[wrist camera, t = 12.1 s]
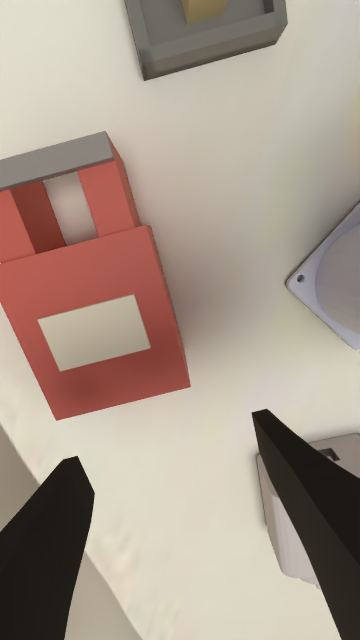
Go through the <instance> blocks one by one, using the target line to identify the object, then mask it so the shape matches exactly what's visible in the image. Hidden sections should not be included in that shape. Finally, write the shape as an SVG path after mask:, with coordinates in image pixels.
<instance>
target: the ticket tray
mask: <svg viewBox="0 0 360 640" xmlns="http://www.w3.org/2000/svg"><path fill="white" fill-rule="evenodd" d="M125 4H126V8H127V12H128V16H129V20H130V25H131V29H132V33H133V37H134V41H135V45H136V49H137V54H138V58H139V62H140V66H141V70H142V74H143V79H144V81H145V80H149V79H152V78H156V77H160V76H163V75H167V74H170V73H174V72H177V71H181V70H185V69H188V68H192V67H195V66H199V65H202V64H206V63H210V62H213V61H217V60H220V59H224V58H228V57H231V56H235V55H238V54H242V53H245V52H249V51H253V50H256V49H260V48H263V47H267V46H270V45H274V44H276V42H277V41H278V39H279V37H280V36H281V34H282V32H283V31H284V29H285V27H286V26H287V24H288V21H287V12H286V2H285V0H228V1H227V5H226V8H225V12H224V14H221V15H218V16H215V17H211V18H208V19H205V20H201V21H198V22H195V23H191V24H188V25H187V24H186V19H185V14H184V9H183V4H182V0H125Z"/></svg>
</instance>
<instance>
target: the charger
mask: <svg viewBox="0 0 360 640" xmlns="http://www.w3.org/2000/svg"><path fill="white" fill-rule="evenodd" d="M308 444H309V445H311V446H312V447H313V448H315V449H316V450H320V451H319V452H320V453H322V454H323V455H324V456H326V457H327V458H329V459H330V460H332V461H333V462H335V463H336V464H338V465H339V466H341V467H342V468H344V469H345V470H347V471H349V472H350V473H352V474H354V475H355V476H357V477H358V478H360V435H358V434H349V435H344V436H339V437H334V438H329V439H325V440H320V441H315V442H310V443H308ZM327 448H330V449H327ZM322 449H325V450H322ZM257 464H258V470H259V477H260V484H261V490H262V497H263V504H264V511H265V517H266V524H267V531H268V534H269V537H270V540H271V543H272V546H273V549H274V552H275V555H276V558H277V561H278V563H279V566H280V569H281V571H282V572H283V573H284V574H285V575H287V576H289V577H292V578H300V579H301V580H302V581H305V582H308V583H311V584H315V585H316V587H317V588H318V589H321V587H320V585H319V582H318V580H317V577H316V575H315V573H314V570H313V568H312V565H311V563H310V560H309V558H308V556H307V553H306V551H305V549H304V547H303V545H302V542H301V540H300V538H299V536H298V534H297V532H296V530H295V528H294V526H293V524H292V522H291V520H290V518H289V516H288V514H287V512H286V510H285V508H284V506H283V505H282V503H281V501H280V499H279V497H278V495H277V493H276V491H275V489H274V487H273V485H272V483H271V480H270V478H269V476H268V473H267V471H266V468H265V466H264V463H263V460H262V458H261V455H260V454H259V455H258V457H257Z"/></svg>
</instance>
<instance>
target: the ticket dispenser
mask: <svg viewBox="0 0 360 640" xmlns="http://www.w3.org/2000/svg"><path fill="white" fill-rule="evenodd" d="M75 171H77V173H78V176H79V179H80V182H81V185H82V188H83V191H84V194H85V197H86V200H87V203H88V206H89V209H90V212H91V215H92V218H93V221H94V224H95V227H96V230H97V233H98V236H99V238H95V239H92V240H88V241H84V242H80V243H77V244H73V245H69V246H66V245H65V242H64V239H63V236H62V234H61V231H60V228H59V226H58V223H57V220H56V218H55V215H54V212H53V209H52V207H51V204H50V201H49V199H48V196H47V193H46V190H45V188H44V185H43V183H42V182H40V181H42V180H46V179H49V178H53V177H57V176H60V175H64V174H68V173H71V172H75ZM0 263H1V264H0V302H1V305H2V307H3V309H4V311H5V313H6V315H7V317H8V319H9V322H10V324H11V326H12V328H13V330H14V332H15V334H16V336H17V339H18V341H19V343H20V345H21V347H22V349H23V351H24V353H25V355H26V358H27V360H28V362H29V364H30V366H31V368H32V370H33V372H34V375H35V377H36V379H37V381H38V383H39V385H40V387H41V389H42V392H43V394H44V396H45V398H46V400H47V402H48V404H49V406H50V409H51V411H52V413H53V415H54V417H55V419H56V421H57V420H61V419H65V418H69V417H73V416H77V415H81V414H85V413H89V412H93V411H97V410H101V409H105V408H109V407H113V406H117V405H121V404H125V403H129V402H133V401H137V400H140V399H144V398H148V397H152V396H156V395H160V394H164V393H168V392H172V391H176V390H180V389H184V388H188V387H191V385H190V379H189V374H188V368H187V362H186V356H185V351H184V347H183V343H182V340H181V336H180V332H179V329H178V325H177V321H176V318H175V314H174V310H173V306H172V303H171V299H170V295H169V292H168V288H167V284H166V281H165V277H164V273H163V270H162V266H161V262H160V258H159V255H158V251H157V247H156V244H155V240H154V236H153V233H152V229H151V226H148V225H144V226H141V224H140V221H139V217H138V214H137V210H136V206H135V203H134V199H133V196H132V192H131V189H130V185H129V182H128V178H127V174H126V171H125V167H124V164H123V160H122V159H121V157H120V155H119V154H118V152H117V150H116V148H115V147H114V145H113V143H112V142H111V140H110V138H109V136H108V135H107V133H106V131H103V132H100V133H96V134H93V135H89V136H85V137H82V138H78V139H74V140H71V141H67V142H64V143H60V144H56V145H53V146H49V147H45V148H42V149H38V150H35V151H31V152H27V153H24V154H20V155H16V156H13V157H9V158H6V159H2V160H0Z"/></svg>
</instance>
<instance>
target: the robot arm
mask: <svg viewBox="0 0 360 640" xmlns="http://www.w3.org/2000/svg"><path fill="white" fill-rule="evenodd" d="M299 275H302V279H301V280H300V281H297V278H298V276H299ZM286 286H287V288H288V289H289V290H290V291H291V292H292V293H293V294H294V295H295V296H296V297H297V298H298V299H300V300H301V301H302V302H303V303H304V304H305V305H306V306H307V307H308V308H309V309H310V310H311V311H313V312H314V313H315V314H316V315H317V316H318V317H319V318H320V319H321V320H322V321H323V322H324V323H326V324H327V325H328V326H329V327H330V328H331V329H332V330H333V331H334V332H335V333H336V334H337V335H339V336H340V337H341V338H342V339H343V340H344V341H345V342H346V343H347V344H348V345H349V346H351V347H352V348H354V349H355V350H359V349H360V202H359V203H358V205H357V206H356V207H355V208H354V209H353V210H352V211H351V212H350V213H349V214H348V215H347V216H346V217H345V219H344V220H343V221H342V222H341V223H340V224H339V225H338V226H337V227H336V228H335V229H334V230H333V231H332V233H331V234H330V235H329V236H328V237H327V238H326V239H325V240H324V241H323V242H322V243H321V244H320V245H319V247H318V248H317V249H316V250H315V251H314V252H313V253H312V254H311V255H310V256H309V257H308V258H307V259H306V261H305V262H304V263H303V264H302V265H301V266H300V267H299V268H298V269H297V270H296V271H295V272H294V274H293V275H292V276H291V277H290V278H289V279H288V280H287V283H286ZM252 418H253V423H254V427H255V432H256V437H257V442H258V447H259V452H260V455H261V458H262V460H263V463H264V466H265V468H266V471H267V473H268V476H269V478H270V480H271V483H272V485H273V487H274V489H275V491H276V493H277V495H278V497H279V499H280V501H281V503H282V505H283V506H284V508H285V510H286V512H287V514H288V516H289V518H290V520H291V522H292V524H293V526H294V528H295V530H296V532H297V534H298V536H299V538H300V540H301V542H302V545H303V547H304V549H305V551H306V553H307V556H308V558H309V560H310V563H311V565H312V568H313V570H314V573H315V575H316V577H317V580H318V582H319V585H320V587H321V590H322V592H323V595H324V597H325V599H326V602H327V604H328V607H329V609H330V612H331V614H332V617H333V619H334V622H335V624H336V627H337V629H338V632H339V634H340V637H341V639H342V640H360V478H358V477H357V476H355V475H354V474H352V473H350V472H349V471H347V470H345V469H344V468H342V467H341V466H339V465H338V464H336V463H335V462H333V461H332V460H330V459H329V458H327V457H326V456H324V455H323V454H322V453H320V452H319V451H317V450H316V449H315V448H313V447H312V446H311V445H309V444H308V443H307V442H305V441H304V440H303V439H302V438H300V437H299V436H298V435H296V434H295V433H294V432H293V431H292V430H290V429H289V428H288V427H287V426H286V425H285V424H283V423H282V422H281V421H280V420H279V419H278V418H277V417H276V416H275V415H274V414H272V413H271V412H270V411H269V410H268V409H264V410H260V411H256V412H252ZM94 495H95V493H94V490H93V488H92V486H91V484H90V482H89V480H88V477H87V475H86V473H85V471H84V469H83V467H82V465H81V462H80V460H79V458H78V456H75V457H71V458H67V459H63V460H62V461H61V462H60V463H59V464H58V466H57V467H56V468H55V469H54V470H53V471H52V473H51V474H50V475H49V476H48V477H47V479H46V480H45V481H44V482H43V483H42V485H41V486H40V487H39V488H38V489H37V491H36V492H35V493H34V494H33V495H32V496H31V498H30V499H29V500H28V501H27V502H26V504H25V505H24V506H23V507H22V508H21V509H20V511H19V512H18V513H17V514H16V515H15V516H14V517H13V518H12V520H11V521H10V522H9V523H8V524H7V525H6V526H5V527H4V528H3V530H2V531H1V532H0V640H64V638H65V632H66V626H67V620H68V615H69V609H70V605H71V600H72V596H73V591H74V587H75V584H76V580H77V576H78V572H79V568H80V564H81V560H82V556H83V552H84V548H85V544H86V540H87V536H88V532H89V528H90V524H91V518H92V512H93V504H94Z"/></svg>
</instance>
